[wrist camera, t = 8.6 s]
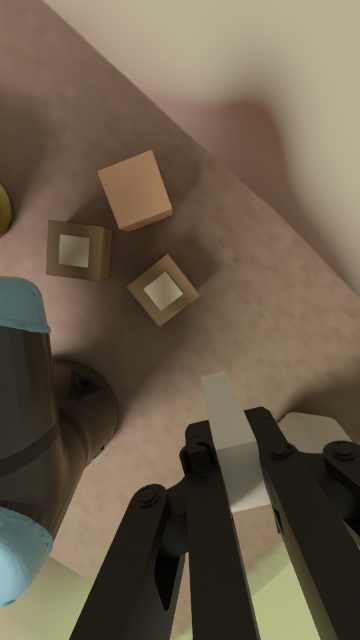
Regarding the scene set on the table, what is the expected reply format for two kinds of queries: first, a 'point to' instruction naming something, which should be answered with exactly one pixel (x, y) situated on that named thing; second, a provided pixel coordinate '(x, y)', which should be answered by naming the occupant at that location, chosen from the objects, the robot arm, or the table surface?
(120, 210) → the plain block
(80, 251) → the walnut block
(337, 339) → the table surface
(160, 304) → the walnut block
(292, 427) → the vase
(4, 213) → the mug
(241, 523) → the table surface
